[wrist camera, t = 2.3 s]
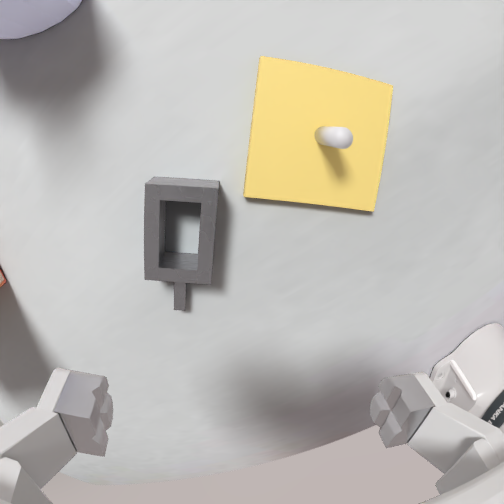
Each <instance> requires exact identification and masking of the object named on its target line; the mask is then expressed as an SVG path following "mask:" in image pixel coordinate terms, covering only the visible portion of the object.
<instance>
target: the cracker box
mask: <svg viewBox="0 0 504 504" xmlns="http://www.w3.org/2000/svg"><path fill="white" fill-rule="evenodd" d="M5 283H6V279H5V277H4V275H3V273H2V271H1V269H0V287H2V286H3V285H4V284H5Z"/></svg>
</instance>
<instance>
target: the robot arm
mask: <svg viewBox="0 0 504 504" xmlns="http://www.w3.org/2000/svg"><path fill="white" fill-rule="evenodd" d="M108 387H109V385H108V381H107V377H105V376H100V375H95V374H89V373H84V372H78V371H73V370H67V369H62V368H58V367H57V368H56V369H55V370H54V371H53V372H52V374H51V376H50V379H49V381H48V383H47V385H46V387H45V389H44V391H43V394H42V396H41V398H40V400H39V403H38V405H37V407H36V408H35V407H31V408H29V409H28V410H26V411H25V412H23V413H21V414H20V415H18V416H17V417H15V418H14V419H12V420H11V421H9V422H8V423H6V424H4V425H3V426H1V427H0V504H53V503H52V502H51V500H50V499H49V498H48V497H47V496H46V495H45V494H44V493H43V492H42V491H41V488H42V487H43V486H44V485H45V484H46V483H48V481H50V480H51V479H52V478H53V477H54V476H55V475H56V474H57V473H58V472H59V471H60V470H61V469H62V468H63V467H64V466H65V465H66V464H67V463H68V462H69V461H70V460H71V459H72V458H73V457H74V456H75V455H76V454H77V452H80V453H86V454H91V455H97V456H104V457H105V452H106V447H107V443H108V436H107V433H106V430H107V429H108V428H110V427H111V424H112V419H113V402H112V397H111V396H110V395H109V394H108V393H107V390H108ZM379 389H380V391H379V392H378V393H377V394H376V395H374V396H373V399H372V401H371V403H370V415H371V418H372V420H373V422H374V423H375V424H376V425H378V426H379V427H380V430H379V434H380V436H381V438H382V441H383V442H384V444H385V447H386V448H388V447H393V446H398V445H402V444H406V443H408V444H407V445H408V446H410V447H411V448H412V449H413V450H415V451H416V452H417V453H418V454H420V455H421V456H422V457H424V458H425V459H426V460H427V461H429V462H430V463H431V464H432V465H434V466H435V467H436V468H438V469H439V470H440V471H441V472H443V473H444V475H443V476H442V477H441V478H440V479H439V480H438V481H437V483H436V487H437V489H438V491H439V493H440V495H439V496H436V497H434V498H432V499H429V500H427V501H424V502H422V503H419V504H504V328H503V326H502V325H500V324H497V323H493V324H488V325H486V326H484V327H482V328H480V329H478V330H477V331H475V332H474V333H473V334H471V335H470V336H469V337H468V338H467V339H465V340H464V341H463V342H462V343H461V344H460V345H459V346H458V348H457V349H456V350H455V351H454V352H452V353H451V354H450V355H448V356H447V357H445V358H444V359H442V360H441V361H439V362H438V363H437V364H436V365H435V366H434V368H433V371H432V373H431V376H430V378H429V377H428V376H427V374H425V373H424V372H418V373H412V374H406V375H399V376H393V377H386V378H384V379H383V380H382V381H381V383H380V385H379Z"/></svg>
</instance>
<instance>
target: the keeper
mask: <svg viewBox="0 0 504 504" xmlns="http://www.w3.org/2000/svg"><path fill="white" fill-rule="evenodd" d="M392 91H393V86H392V85H389V84H386V83H383V82H380V81H376V80H373V79H369V78H366V77H362V76H358V75H355V74H351V73H347V72H343V71H339V70H334V69H330V68H326V67H321V66H316V65H311V64H306V63H301V62H296V61H290V60H284V59H278V58H271V57H264V56H261V57H260V58H259V66H258V74H257V82H256V90H255V98H254V107H253V115H252V123H251V132H250V140H249V149H248V157H247V166H246V175H245V184H244V193H243V195H244V197H251V198H261V199H272V200H282V201H291V202H301V203H309V204H318V205H327V206H335V207H343V208H351V209H358V210H366V211H373V212H374V208H375V203H376V198H377V192H378V187H379V182H380V176H381V170H382V165H383V159H384V152H385V146H386V139H387V132H388V125H389V117H390V109H391V100H392Z"/></svg>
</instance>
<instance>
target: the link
mask: <svg viewBox="0 0 504 504" xmlns="http://www.w3.org/2000/svg"><path fill="white" fill-rule="evenodd" d="M218 191H219V181H214V180H200V179H185V178H169V177H153V178H152V179H151V180H149V181H148V182H147V183H146V184H145V207H144V270H145V280H156V281H169V282H174V310H183V311H185V305H186V283H196V284H211V278H212V264H213V251H214V238H215V225H216V214H217V202H218ZM166 200H167V201H182V202H197V203H201V217H200V231H199V248H198V254H191V253H177V252H165V225H166Z"/></svg>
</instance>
